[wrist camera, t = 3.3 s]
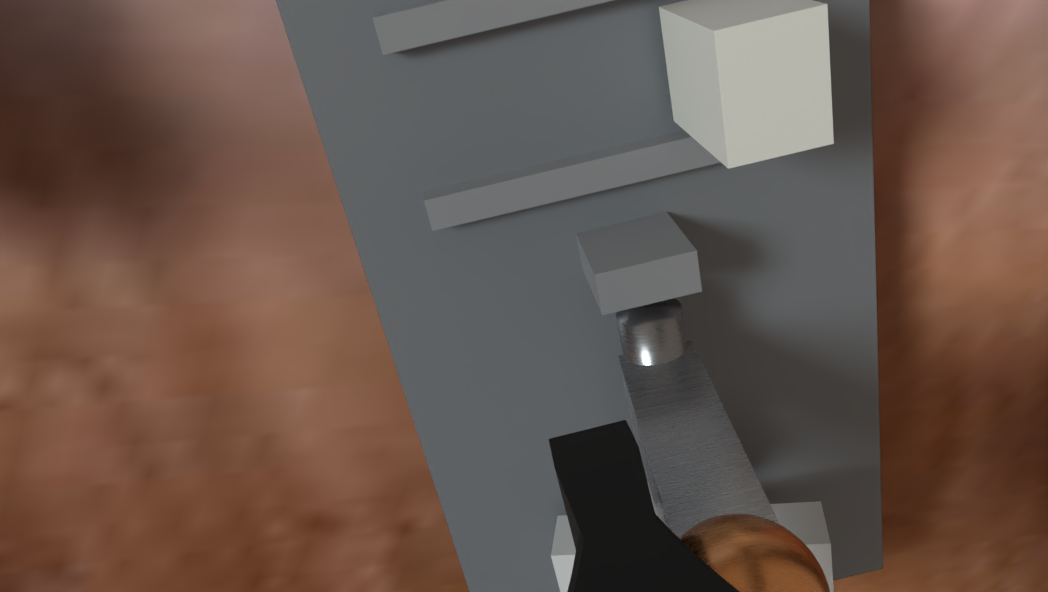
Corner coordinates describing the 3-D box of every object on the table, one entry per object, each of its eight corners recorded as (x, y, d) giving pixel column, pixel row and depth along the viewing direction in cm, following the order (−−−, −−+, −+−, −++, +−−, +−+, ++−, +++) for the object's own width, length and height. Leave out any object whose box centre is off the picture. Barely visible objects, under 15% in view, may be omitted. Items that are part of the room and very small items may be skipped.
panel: (847, 531, 23) (926, 649, 19) (492, 616, 23) (504, 751, 19) (815, -137, 15) (932, -150, 12) (292, -14, 15) (251, 12, 12)
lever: (716, 413, 17) (865, 735, 10) (611, 435, 17) (692, 767, 11) (700, 284, 16) (857, 560, 9) (585, 308, 16) (661, 597, 9)
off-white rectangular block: (760, 100, 15) (834, 143, 12) (673, 121, 15) (727, 168, 12) (750, -16, 14) (827, 3, 11) (658, 7, 14) (714, 31, 11)
